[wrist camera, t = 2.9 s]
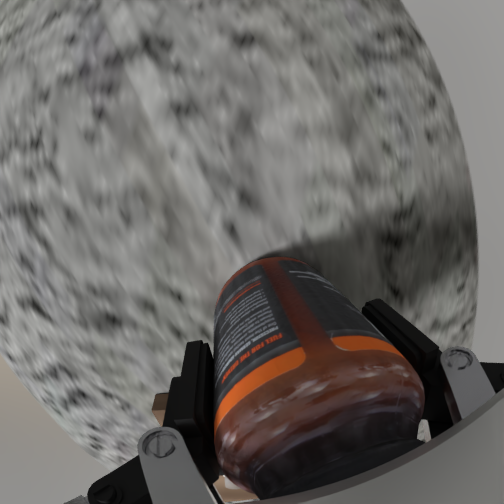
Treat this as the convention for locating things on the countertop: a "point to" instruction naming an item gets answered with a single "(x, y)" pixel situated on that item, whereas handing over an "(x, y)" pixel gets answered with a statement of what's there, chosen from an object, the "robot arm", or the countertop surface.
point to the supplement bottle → (304, 383)
